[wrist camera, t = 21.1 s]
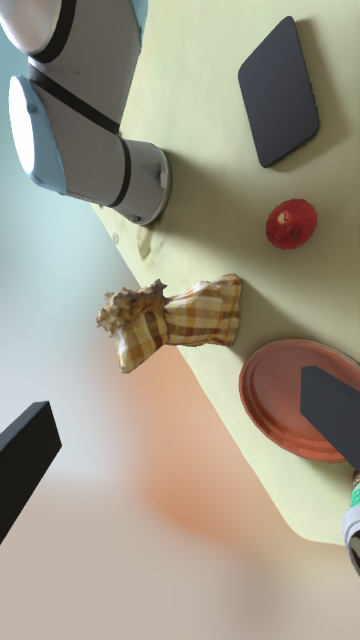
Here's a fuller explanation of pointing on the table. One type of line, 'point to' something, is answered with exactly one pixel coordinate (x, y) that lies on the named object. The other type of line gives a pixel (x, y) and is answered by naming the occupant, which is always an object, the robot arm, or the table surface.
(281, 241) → the onion
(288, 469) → the table surface
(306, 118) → the phone
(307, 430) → the terracotta plant saucer
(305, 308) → the table surface
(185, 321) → the plaid fabric bag
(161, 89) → the table surface
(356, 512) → the food container
